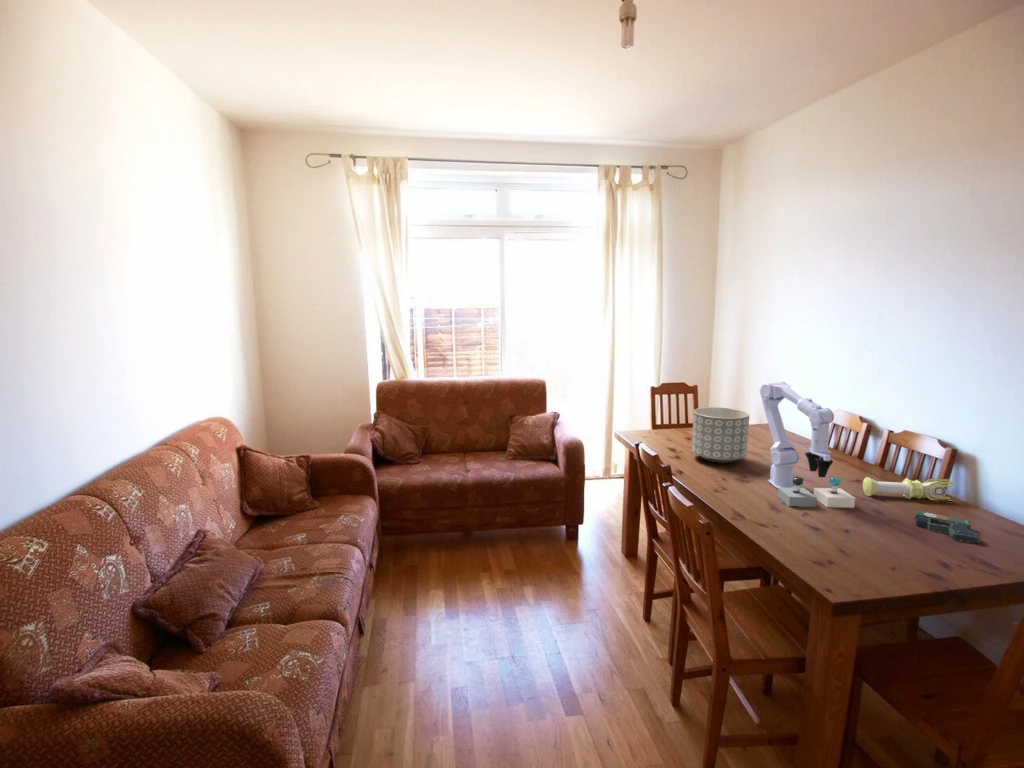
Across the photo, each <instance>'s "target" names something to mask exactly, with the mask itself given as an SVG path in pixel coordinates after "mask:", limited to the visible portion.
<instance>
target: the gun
mask: <svg viewBox="0 0 1024 768" xmlns="http://www.w3.org/2000/svg"><path fill="white" fill-rule="evenodd" d="M915 525H916V526H917V527H920V526H921V527H922V528H925V527H926V529H927V530H928V529H929V530H928V531H932V530H934V531H933V532H937V531H941V532H940V533H942V532H947V533H949V534H948V535H949V536H950V538H951V540H953V539H957V540H956V541H958V540H963V541H969V542H973V543H972V544H974V543H978V544H980V541H981V535H980V534H979V533H978V532H976V531H975V530H972V529H971V527H972V526H971V521H970V520H969V519H965V518H964V519H963V518H958V517H954V516H949V515H943V514H938V513H935V512H928V511H923V510H919V509H917V510H916V514H915ZM947 533H946V534H947ZM963 541H962V542H963Z"/></svg>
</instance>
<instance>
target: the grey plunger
mask: <svg viewBox="0 0 1024 768" xmlns="http://www.w3.org/2000/svg"><path fill="white" fill-rule="evenodd" d="M792 483H793V485H794V493H795V494H800V488H801V485H803V484H804V478H803V477H800V476H793V481H792Z"/></svg>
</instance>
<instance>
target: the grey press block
mask: <svg viewBox="0 0 1024 768" xmlns="http://www.w3.org/2000/svg"><path fill="white" fill-rule="evenodd" d="M813 494H814V493H811V492H810V491H809V490H808V489H806V488H805V487H800V494H795V493H794V488H780V487H778V488H777V493H776V496H778V497H779V498H780V499H781V500H780V499H779V498H778V497H777V498H778V499H779V500H780V501H782V502H783V501H784V502H785V503H786V504H787V505H786V504H785V503H784V502H783V503H784V504H785V505H786V506H787V507H789V506H798V507H797V508H817V502H818V500H817V497H816V496H815V495H813Z"/></svg>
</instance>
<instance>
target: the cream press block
mask: <svg viewBox="0 0 1024 768" xmlns="http://www.w3.org/2000/svg"><path fill="white" fill-rule="evenodd" d="M831 489H832V487H814V488H813V493H812V494H813V495H815V496H816V497H817V502H819V503H821V504H822V505H823V506H825V507H826V508H853V509H855V505H856V504H855V503H856V497H855V496H853V495H851V494H850V493H848V492H847V491H846V490H844V489H842V488H841V487H838V491H837V494H832V493H831Z"/></svg>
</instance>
